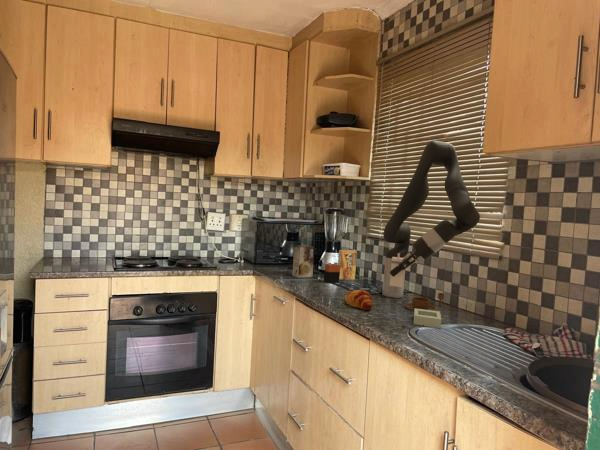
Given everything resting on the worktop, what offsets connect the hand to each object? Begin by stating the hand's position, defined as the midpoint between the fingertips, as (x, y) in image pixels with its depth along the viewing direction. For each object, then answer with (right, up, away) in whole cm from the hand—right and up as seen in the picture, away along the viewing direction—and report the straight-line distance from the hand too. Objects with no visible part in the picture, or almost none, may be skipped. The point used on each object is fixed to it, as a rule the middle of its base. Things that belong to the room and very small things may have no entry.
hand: (391, 273), depth 162 cm
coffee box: (-32, -10, +73) cm, 80 cm away
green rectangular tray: (+12, -17, -2) cm, 21 cm away
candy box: (-9, -11, +75) cm, 76 cm away
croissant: (-10, -15, +16) cm, 24 cm away
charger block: (+1, -4, 0) cm, 5 cm away
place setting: (+19, -17, +18) cm, 31 cm away
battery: (-18, -11, +62) cm, 65 cm away
